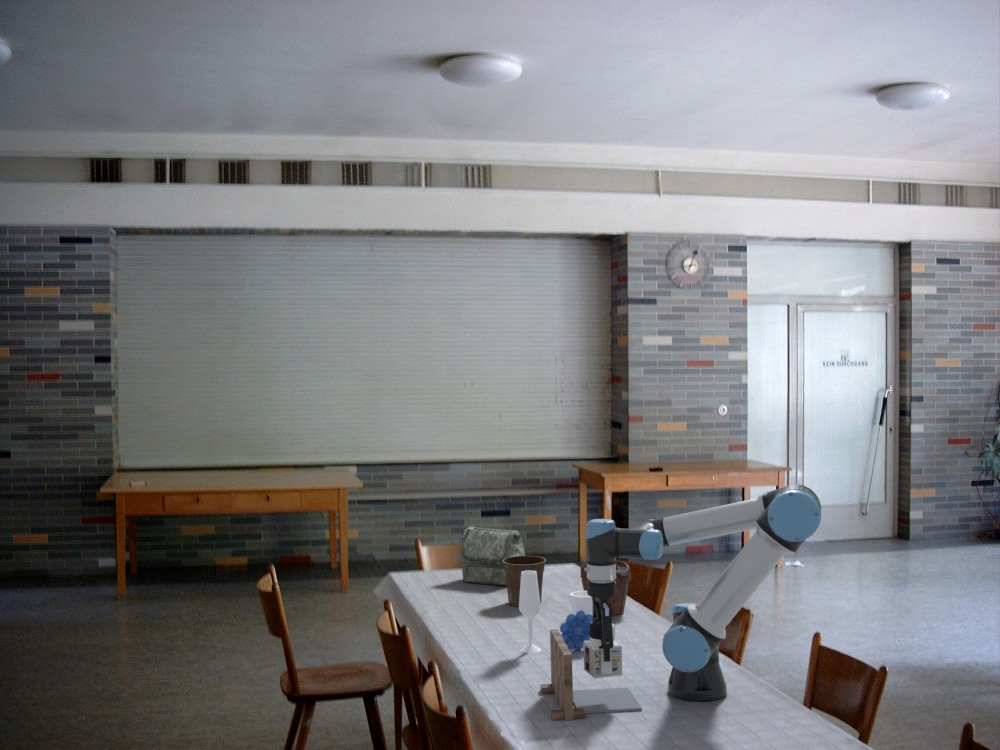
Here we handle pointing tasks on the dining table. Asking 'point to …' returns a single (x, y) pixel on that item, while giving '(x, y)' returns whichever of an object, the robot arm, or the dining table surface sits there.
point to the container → (594, 655)
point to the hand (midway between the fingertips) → (602, 667)
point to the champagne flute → (529, 604)
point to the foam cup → (581, 602)
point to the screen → (561, 679)
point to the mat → (605, 700)
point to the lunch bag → (488, 554)
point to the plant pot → (513, 574)
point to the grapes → (576, 629)
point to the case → (621, 586)
